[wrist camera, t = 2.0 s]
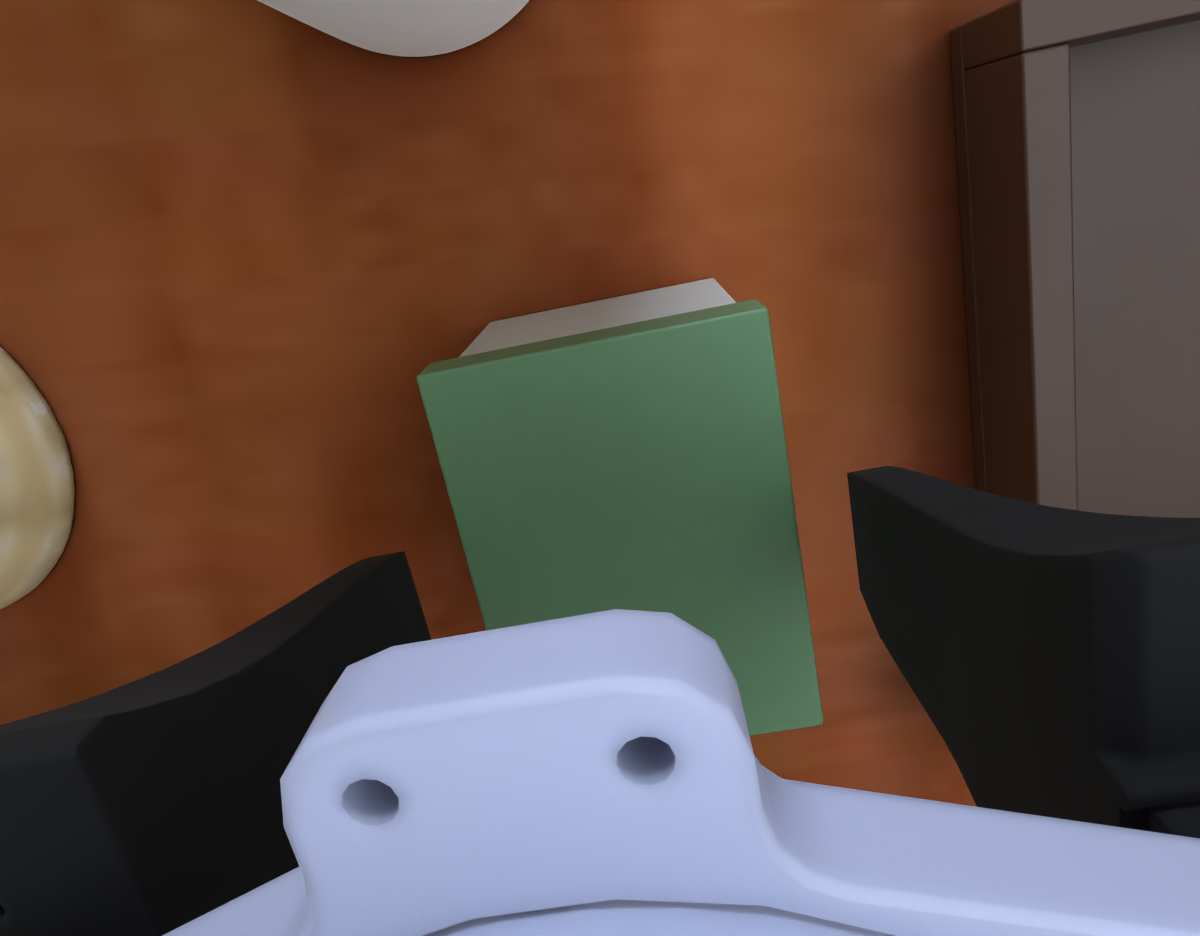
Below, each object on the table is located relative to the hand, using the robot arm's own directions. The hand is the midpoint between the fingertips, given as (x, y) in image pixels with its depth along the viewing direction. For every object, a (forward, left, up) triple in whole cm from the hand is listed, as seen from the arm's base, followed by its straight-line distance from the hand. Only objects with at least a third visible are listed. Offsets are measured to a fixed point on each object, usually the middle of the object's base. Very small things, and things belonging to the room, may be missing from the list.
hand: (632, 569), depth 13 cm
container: (0, 0, -6) cm, 6 cm away
